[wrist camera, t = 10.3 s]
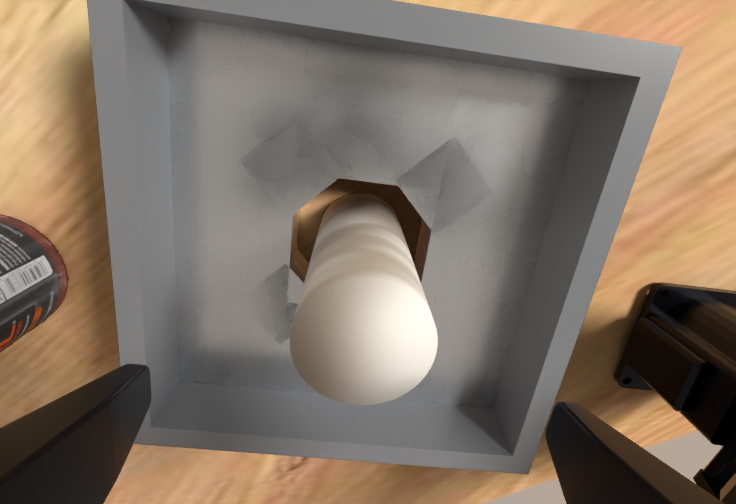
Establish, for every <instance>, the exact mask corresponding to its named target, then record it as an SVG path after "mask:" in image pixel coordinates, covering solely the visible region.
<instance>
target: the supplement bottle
mask: <svg viewBox="0 0 736 504" xmlns="http://www.w3.org/2000/svg"><path fill="white" fill-rule="evenodd" d="M68 280H69V279H68V275H67V270H66V267H65V264H64V262H63V259H62V257H61V255H60V254H59V251H58V250H57V249H56V248H55V246H54V245H53V244H52V243H51V241H49V239H48V238H47V237H45V236H44V235H43V234H42V233H40V232H39V231H38V230H36V229H35V228H33V227H32V226H30V225H28V224H26V223H24V222H22V221H20V220H18V219H15V218H12V217H9V216H5V215H1V214H0V352H1V351H3V350H4V349H6V348H7V347H9V346H10V345H12V344H13V343H14V342H15V341H16V340H18V339H19V338H21V337H22V336H23V335H25V334H26V333H28V332H29V331H31V330H32V329H34V328H35V327H37V326H38V325H39V324H40V323H42V322H44V321H45V320H46V319H47V318H48V317H49V316H50V315H51V314H53V313H54V312H55V311H56V310H57V309H58V307H59V306H60V305H61V303H62V302H63V300H64V298H65V295H66V292H67V288H68Z"/></svg>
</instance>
